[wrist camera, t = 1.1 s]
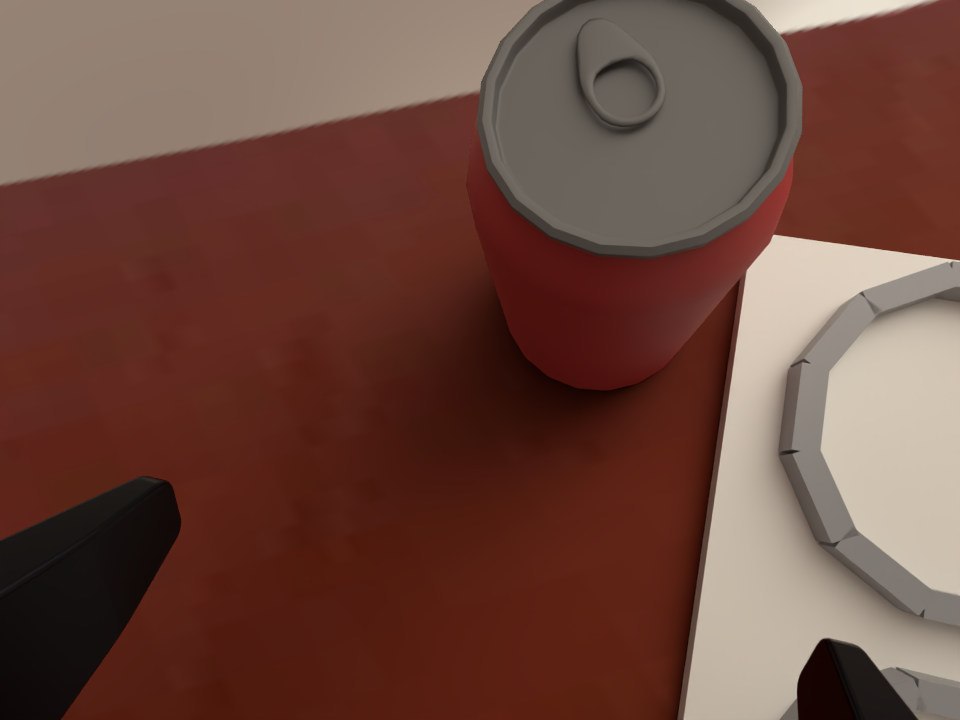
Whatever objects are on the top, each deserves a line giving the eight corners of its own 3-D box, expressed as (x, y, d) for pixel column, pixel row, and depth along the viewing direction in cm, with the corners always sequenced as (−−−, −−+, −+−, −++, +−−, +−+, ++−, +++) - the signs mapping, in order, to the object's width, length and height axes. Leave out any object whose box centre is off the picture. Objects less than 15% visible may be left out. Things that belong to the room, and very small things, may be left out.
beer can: (644, 190, 23) (729, -115, 11) (724, 351, 22) (916, 188, 10) (479, 258, 23) (397, 28, 12) (546, 422, 22) (529, 345, 10)
